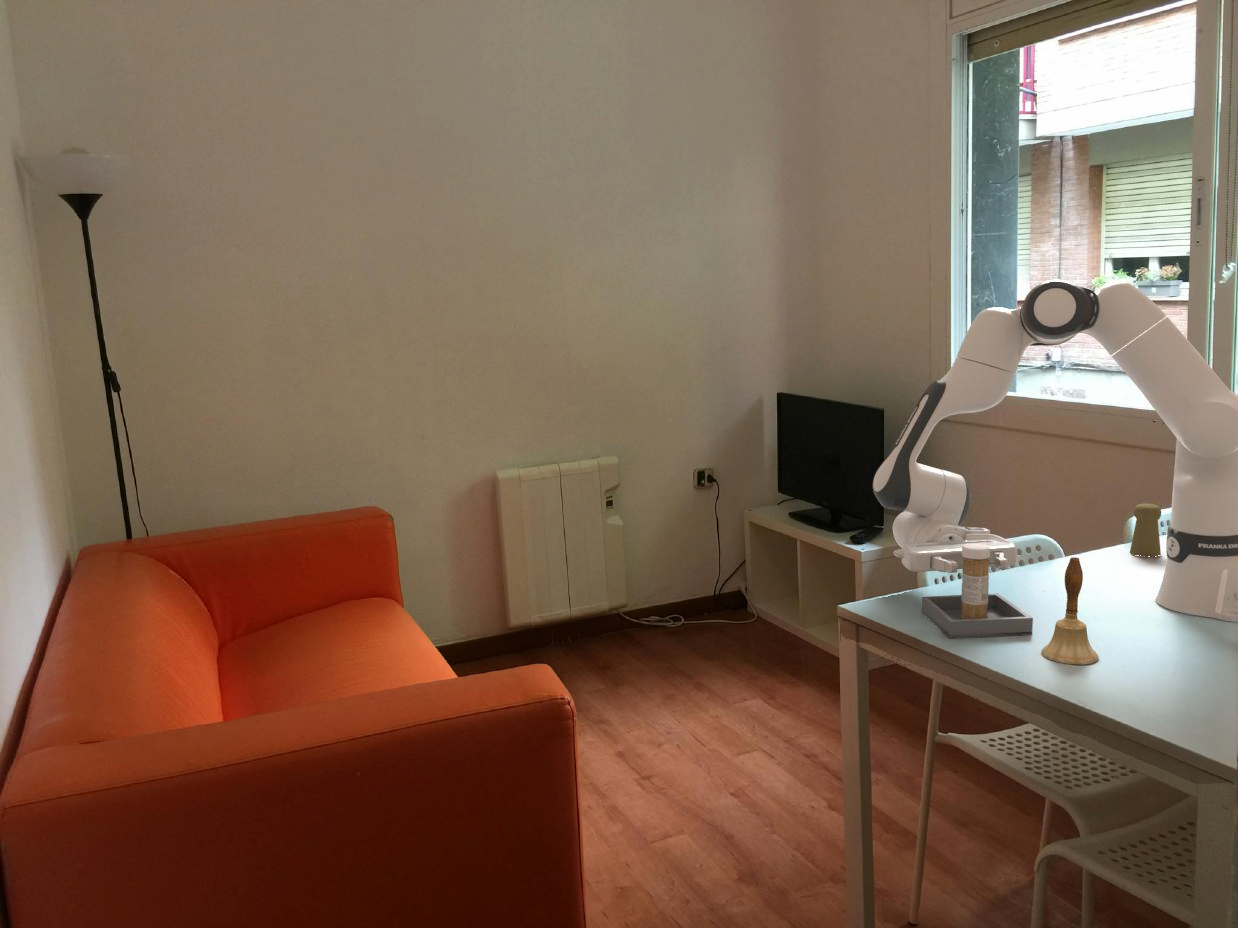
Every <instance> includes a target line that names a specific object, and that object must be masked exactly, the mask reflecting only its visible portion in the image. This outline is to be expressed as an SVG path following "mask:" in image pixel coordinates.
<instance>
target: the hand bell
mask: <svg viewBox="0 0 1238 928" xmlns="http://www.w3.org/2000/svg"><path fill="white" fill-rule="evenodd" d="M1069 559H1070V560H1069V562H1068V564H1067V566H1066V569H1065V572H1064V587H1065V592H1066V609H1065V617H1064V618H1062V619H1059V620H1057V621H1056V622H1055V626H1054V632H1053V635H1052V637H1051V639H1050V641H1049V642H1048V644H1046V645H1045V646H1044V647H1043V648H1042V649H1041V655H1042V656H1043V657H1044V658H1046V659H1048V660H1051V661H1053V662H1057V663H1060V664H1067V665H1078V666H1079V665H1083V666H1084V665H1090V664H1091V665H1092V664H1094V663H1096V662H1098V661H1099V659H1100V656H1099V654H1098V653H1097V651H1095V650H1094V648H1093V647H1092V646H1091V644H1090V640H1089V635H1088V631H1087V630H1088V629H1087V624H1086V623H1085V622H1084V621H1081V620H1079V618H1078V611H1079V610H1078V608H1079V607H1078V603H1079V602H1078V599H1079V595H1080V593H1081V589H1082V586H1083V581H1084V578H1083V577H1084V576H1083V575H1084V574H1083V569H1082V565H1081V561H1080V558H1079V557H1070V558H1069Z"/></svg>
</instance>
